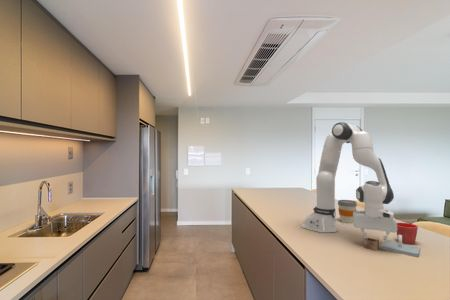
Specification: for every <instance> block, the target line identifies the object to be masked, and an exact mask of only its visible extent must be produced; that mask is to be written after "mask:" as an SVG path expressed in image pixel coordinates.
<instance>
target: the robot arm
mask: <svg viewBox="0 0 450 300" xmlns="http://www.w3.org/2000/svg"><path fill="white" fill-rule="evenodd" d="M345 143H346V144H351V152H352V153H351V154H352V157H353V158H352V159H353V160H354V161H355V162H356V163H357V164H359V165H362V166H364V167H367V168H368V169H369V168H370V169H371V170H373V171H374V172H375V175H376V178H377V181H376V180H375V181H374V180H369V181H365V182H364V184H363V185H361V186H358V187H357V188H356V189H355V197H356V200H357V201H359V202H360V203H362V204H364V210H359V209H356V211H354V212H353V217H354V222H353V223H352V226H353V227H354V228H359V229H360V231H361V233H362V236H363V237H364V238H368V235H367V234H368V233H367V232H365V229H366V230H373V231H379V232H385V234H386V235H383V241H384V240H385V241H388V236H389V235H390V233H396V234H397V223H398V222H397V220H396V218H395V217H394V216H395V213H394V212H393V211H391V210H388V209H385V208H384V205H389V204H390V203H392V201H394V191H393V189H392V187H391V185H390V181H389V178H388V176H387V172H386V169H385V167H384V166H385V165H384V163H383V161H382V159H381V158H380V157H378V156H377V155H376V153H375V151H374V145H373V141H372V137H371V135H370V133H369V132H368V131H364V130H363V129H362V128H361V127H359V126H358V125H354V124H353V123H352V124H351V123H347V122H341V121H340V122H336V123H335V124H334V125H333V126H332V128H331V133H329V134H327V136H326V138H325V141H324V144H323V148H322V152H321V157H320V161H319V166H318V167H319V168H318V171H317V175H316V186H315V187H316V206H315V207H313V209H312V210H313V212H312V213H310V214H309V215H308V216H306V218H304V219H305V220H304V223H302V224H301V228H303V229H306V230H309V231H314V232H318V233H336V232H338V229H337V228H338V227H337V223H336V205H335V203H336V197H335V196H336V195H335V194H336V191H335V189H336V175H337V170H338V166H339V161H340V157H341V152H342V148H343V145H344V144H345Z"/></svg>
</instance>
